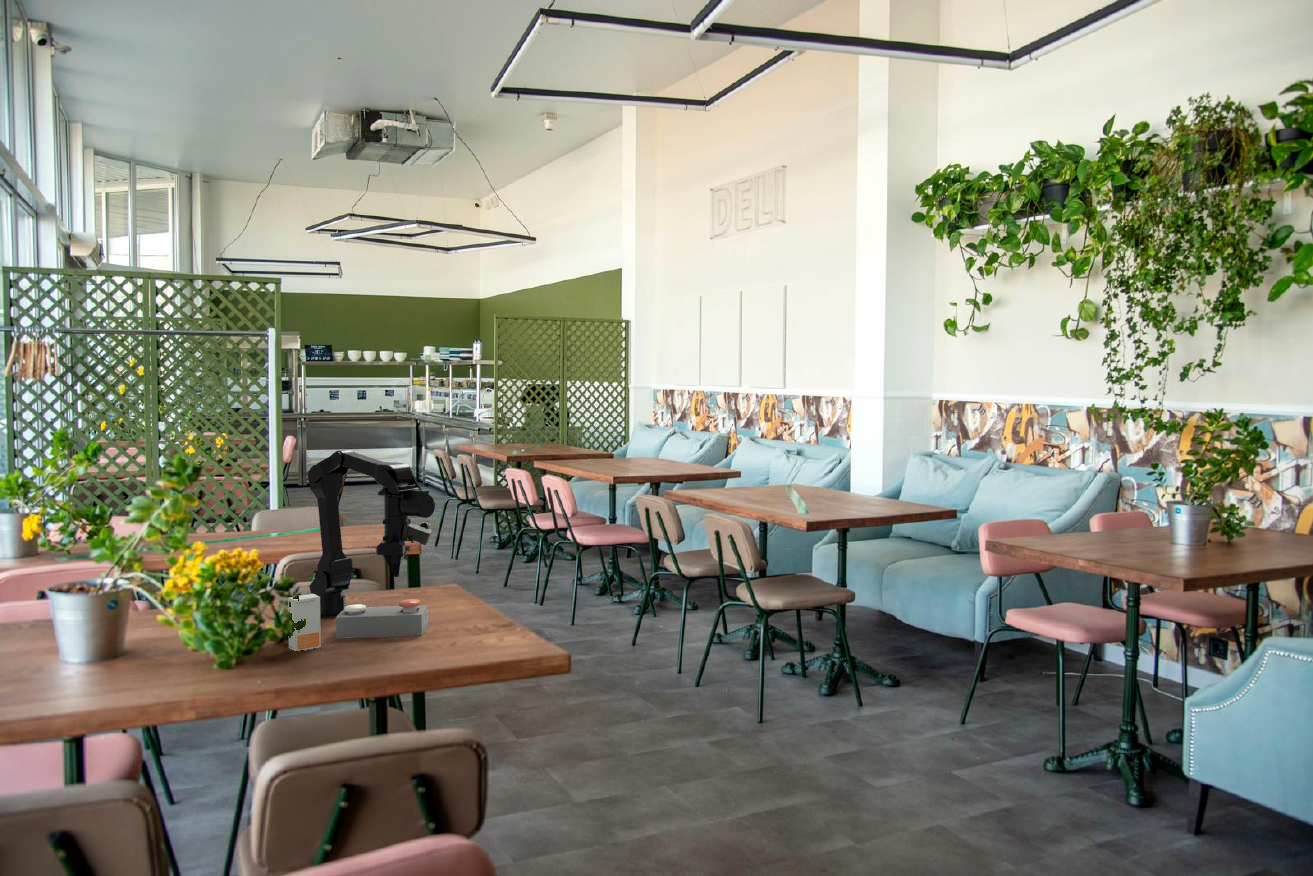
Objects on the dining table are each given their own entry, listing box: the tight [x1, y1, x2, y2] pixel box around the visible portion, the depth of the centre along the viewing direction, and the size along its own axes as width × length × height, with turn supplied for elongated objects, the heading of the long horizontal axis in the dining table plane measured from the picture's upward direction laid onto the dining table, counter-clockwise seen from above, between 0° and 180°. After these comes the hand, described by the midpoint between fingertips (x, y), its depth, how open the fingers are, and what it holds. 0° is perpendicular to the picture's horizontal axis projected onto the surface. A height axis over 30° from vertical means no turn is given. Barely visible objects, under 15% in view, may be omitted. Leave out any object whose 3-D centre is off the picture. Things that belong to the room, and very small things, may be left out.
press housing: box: [335, 604, 429, 639], centre depth 232 cm, size 20×10×5 cm, turn 95°
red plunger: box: [398, 598, 421, 613], centre depth 233 cm, size 5×5×5 cm
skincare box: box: [287, 593, 322, 652], centre depth 218 cm, size 6×4×12 cm
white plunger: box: [344, 603, 367, 614], centre depth 231 cm, size 5×5×5 cm
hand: (396, 576), depth 237 cm, fingers closed
